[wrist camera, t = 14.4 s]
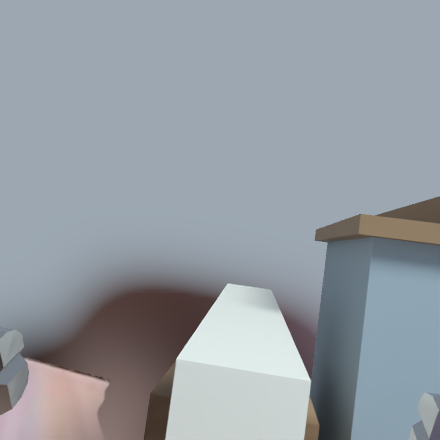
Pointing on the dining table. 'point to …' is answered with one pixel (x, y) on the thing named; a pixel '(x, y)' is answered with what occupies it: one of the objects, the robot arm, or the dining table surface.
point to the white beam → (240, 374)
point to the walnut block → (161, 406)
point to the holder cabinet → (378, 323)
